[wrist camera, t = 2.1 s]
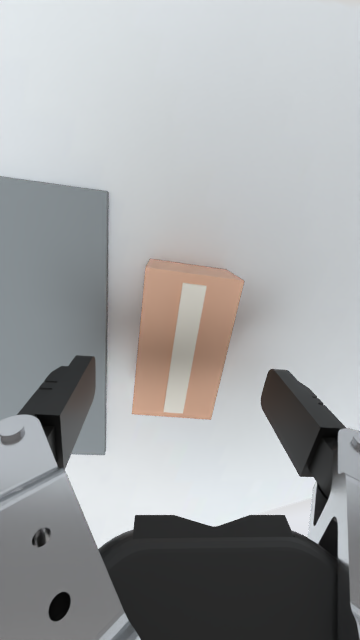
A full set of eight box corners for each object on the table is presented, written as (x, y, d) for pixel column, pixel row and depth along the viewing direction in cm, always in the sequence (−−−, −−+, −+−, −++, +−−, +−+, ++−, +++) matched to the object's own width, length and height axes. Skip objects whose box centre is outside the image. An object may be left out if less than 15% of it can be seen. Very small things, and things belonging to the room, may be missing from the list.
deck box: (225, 268, 16) (245, 281, 12) (201, 381, 19) (211, 421, 15) (150, 258, 15) (145, 267, 11) (138, 376, 18) (131, 416, 14)
